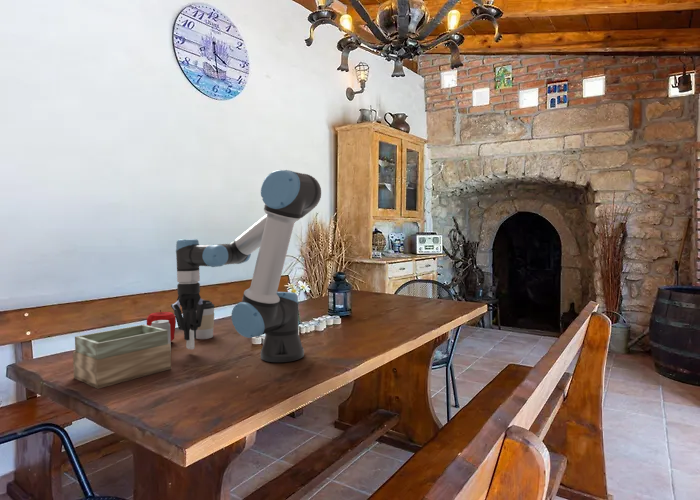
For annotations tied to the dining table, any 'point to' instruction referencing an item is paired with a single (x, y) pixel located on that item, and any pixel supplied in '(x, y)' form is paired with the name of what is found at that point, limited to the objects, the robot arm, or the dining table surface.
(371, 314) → the dining table surface
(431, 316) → the dining table surface
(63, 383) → the dining table surface
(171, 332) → the red rounded piece
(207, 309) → the coffee cup
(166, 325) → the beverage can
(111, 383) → the wooden planter box
